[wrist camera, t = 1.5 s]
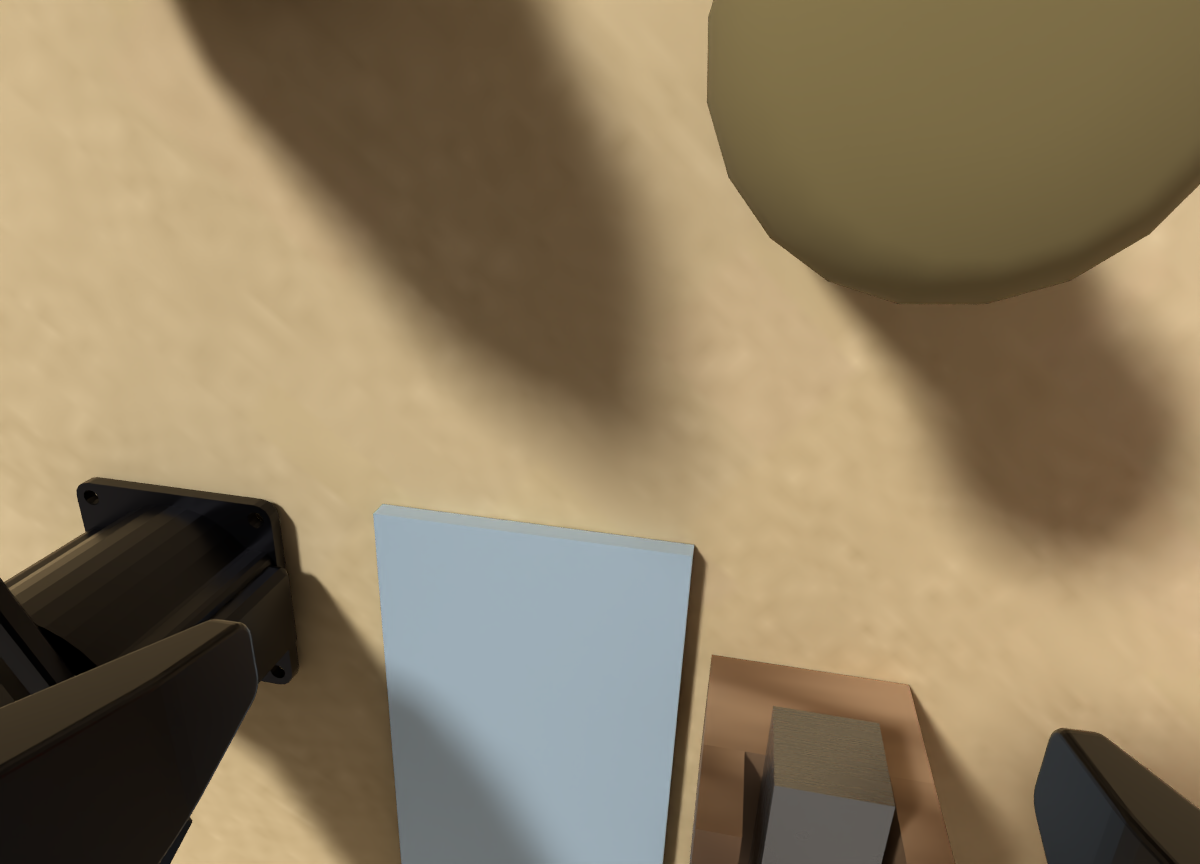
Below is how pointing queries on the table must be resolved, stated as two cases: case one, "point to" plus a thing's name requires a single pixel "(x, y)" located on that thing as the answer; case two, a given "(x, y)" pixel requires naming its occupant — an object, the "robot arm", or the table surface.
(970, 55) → the pepper mill
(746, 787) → the stand
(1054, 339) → the table surface
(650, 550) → the mat
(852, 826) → the rail
